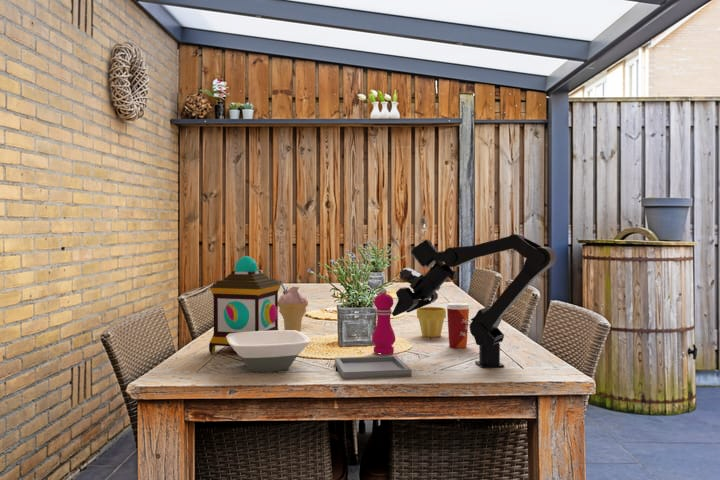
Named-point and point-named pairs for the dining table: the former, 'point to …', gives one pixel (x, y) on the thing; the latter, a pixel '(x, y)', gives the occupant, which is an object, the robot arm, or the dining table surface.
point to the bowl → (268, 348)
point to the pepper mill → (383, 324)
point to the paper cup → (458, 324)
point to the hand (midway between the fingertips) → (399, 313)
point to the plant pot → (431, 320)
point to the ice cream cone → (292, 308)
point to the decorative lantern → (244, 302)
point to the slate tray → (372, 367)
